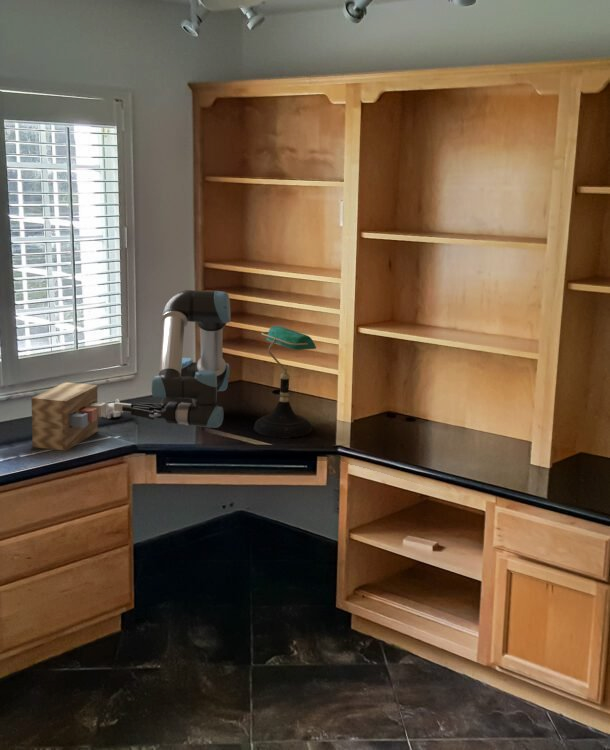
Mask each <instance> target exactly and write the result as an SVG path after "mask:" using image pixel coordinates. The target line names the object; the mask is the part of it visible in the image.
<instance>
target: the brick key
mask: <svg viewBox="0 0 610 750" xmlns="http://www.w3.org/2000/svg"><path fill="white" fill-rule="evenodd" d="M85 413H88V421H89V423H92V422H94V421H96V420H97V408H93V409H91V408H81V409H79V414H85Z"/></svg>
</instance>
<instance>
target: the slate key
mask: <svg viewBox="0 0 610 750" xmlns="http://www.w3.org/2000/svg"><path fill="white" fill-rule="evenodd" d="M69 420H70V426H72V427H80V428H81V429H83V428H84V427H86V426H88V413H85V414H77V413H72V414H70V415H69Z"/></svg>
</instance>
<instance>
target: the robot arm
mask: <svg viewBox="0 0 610 750" xmlns="http://www.w3.org/2000/svg"><path fill="white" fill-rule="evenodd" d="M230 301H231V300H230V295H229V294H228V293H227V292H225V291H221V290H220V291H219V290H191V289H190V290H189V289H186V290H182V291H181V290H180V291H179V292H178V293H176V294H174V295H173V296H172V297H171V298H170V299H169V300H168V301H167V302H166V304H165V305H164V307H163V309H162V313H161V318H160V319H161V321H160V322H161V324H162V326H163V327H162V328H163V329H162V338H161V339H162V340H161V348H160V350H161V351H160V361H159V369H158V370H159V372H158V375H153V376H152V379H151V395H152V397H153V398H156V399H157V398H159V399H161V402H159V403H158V402H137V403H125V402H119V403H117V402H116V403H115V402H113V403H114V411H121V413H122V412H123V413H130V415H131V416H135V417H140V418H147V419H150V420H155V418H156V419H162V418H163V419H165V421H166V423H168V424H175V425H177V424H179V425H185V427H188V426H195V427H203V428H213V429H214V428H215V429H216V428H219V427H220V426H221V425H222V424H223V421H224V416H225V415H224V408H223V406H219V405H218V403H217V401H218V400H217V398H218V392H224V391H226V390H227V388H228V384H229V377H230V364H229V363H228V362H226V361H225V359H224V358H223V338H224V337H223V329H224V328H225V327H226V326H227V324H229V323H230V322H231V319H232V318H231V316H232V315H231V314H232V313H231V302H230ZM189 322H193V323H196V325H197V327H198V328H199V329H200V330H199V331H200V333H199V335H200V336H199V339H200V341H199V342H200V358H199V359H198V361H197V362H193V359H192V358H190V357H183V354H184V353H183V351H184V339H185V338H184V337H185V327H186V326H187V325H188V323H189ZM193 399H194V400H193Z"/></svg>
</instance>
